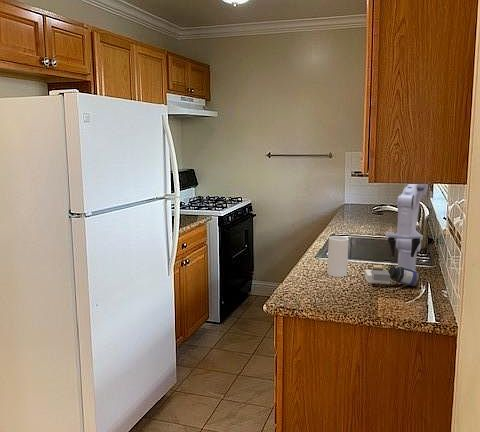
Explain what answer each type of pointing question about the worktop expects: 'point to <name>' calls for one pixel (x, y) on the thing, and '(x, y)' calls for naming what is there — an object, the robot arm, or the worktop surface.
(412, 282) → the pill bottle
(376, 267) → the plug
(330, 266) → the cup
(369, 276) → the socket
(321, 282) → the worktop surface
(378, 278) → the grey square block
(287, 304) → the worktop surface
